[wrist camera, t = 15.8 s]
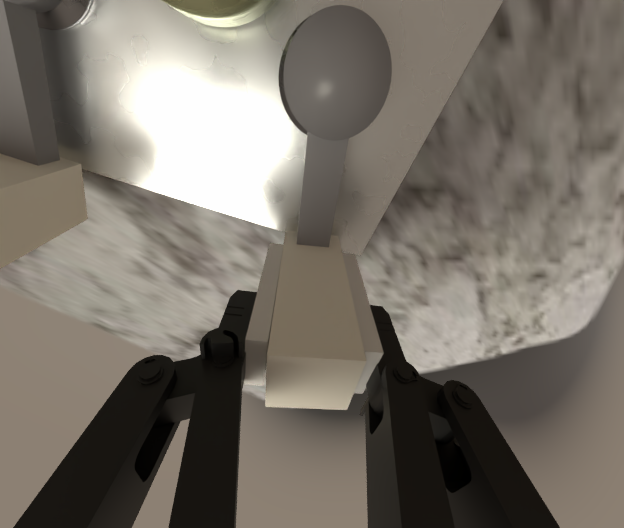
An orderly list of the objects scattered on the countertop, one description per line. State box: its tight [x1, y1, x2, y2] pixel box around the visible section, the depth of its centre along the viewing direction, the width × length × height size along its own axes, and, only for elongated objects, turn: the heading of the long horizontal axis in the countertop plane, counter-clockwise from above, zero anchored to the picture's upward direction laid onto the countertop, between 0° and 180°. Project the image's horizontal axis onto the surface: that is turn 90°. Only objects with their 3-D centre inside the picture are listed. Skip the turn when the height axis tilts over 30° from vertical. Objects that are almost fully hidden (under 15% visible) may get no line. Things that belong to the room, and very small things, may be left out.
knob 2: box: [265, 5, 392, 410], centre depth 10 cm, size 13×4×9 cm, turn 173°
